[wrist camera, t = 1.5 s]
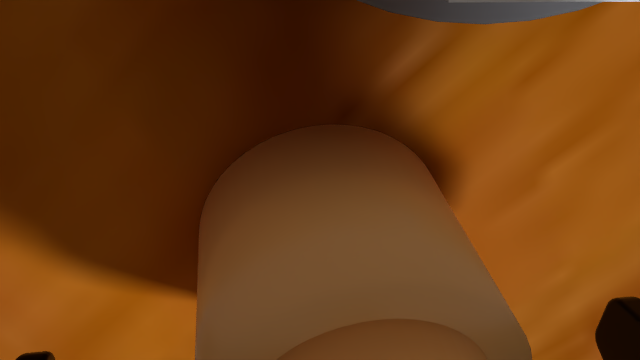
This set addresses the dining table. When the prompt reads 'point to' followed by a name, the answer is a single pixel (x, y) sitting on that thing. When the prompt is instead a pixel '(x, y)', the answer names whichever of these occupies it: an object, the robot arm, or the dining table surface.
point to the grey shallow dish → (483, 9)
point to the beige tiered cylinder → (342, 259)
